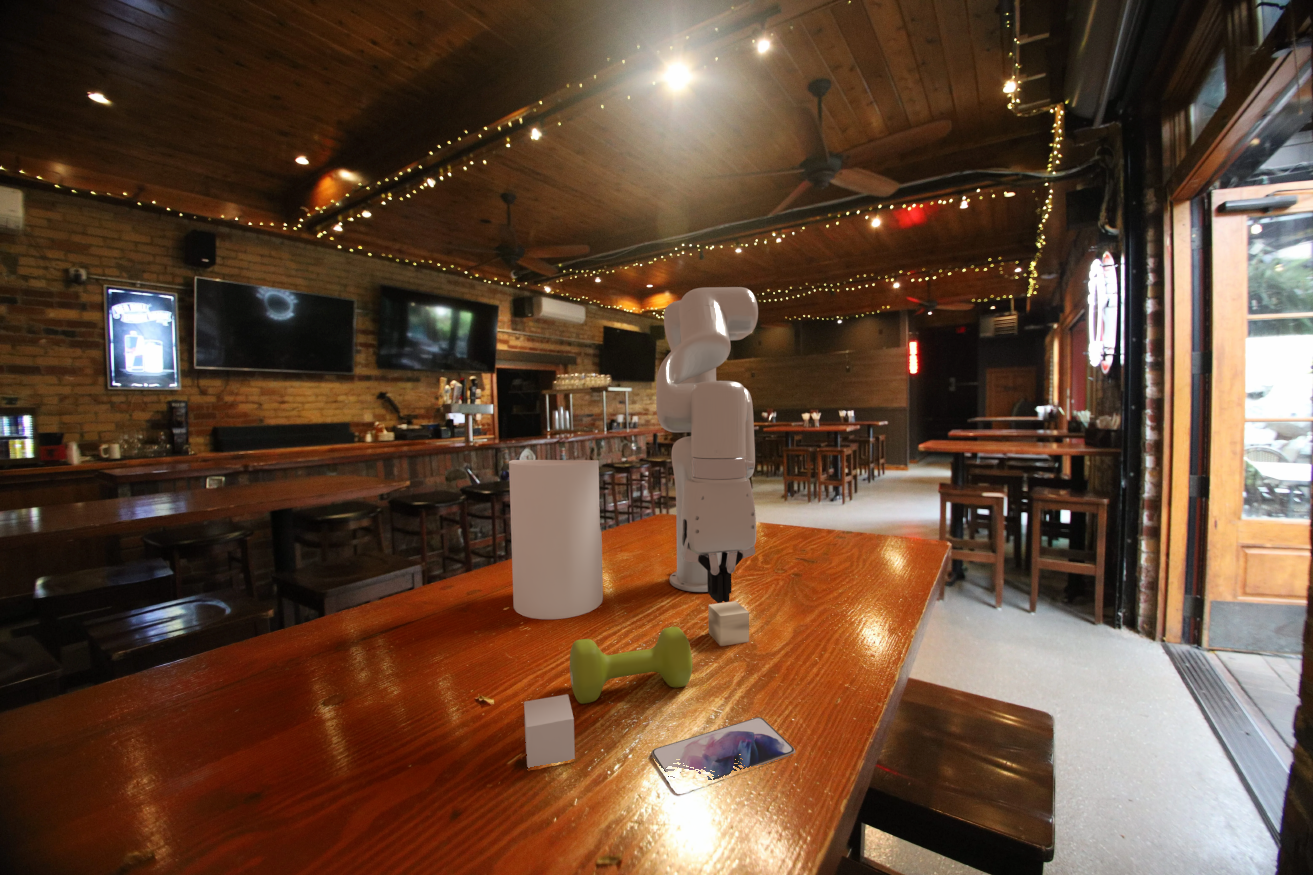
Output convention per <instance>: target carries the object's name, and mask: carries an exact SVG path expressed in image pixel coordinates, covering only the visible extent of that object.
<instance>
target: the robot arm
mask: <svg viewBox="0 0 1313 875" xmlns="http://www.w3.org/2000/svg"><path fill="white" fill-rule="evenodd" d="M758 319H759V306H758V302H757V298H756V296H755V295H754V293H753V292H752V290H750V289H748V288H747V287H742V286H739V287H738V286H729V287H728V286H725V287H724V286H723V287H722V286H719V287H716V286H715V287H706V286H705V287H698V288H693V289H692V290H689V291H688V292H686V293H685V294H684V295H683V296H682V298H681V299H679V300H676V301H673V302H671V303H669V304H667V306H666V307H665V310H664V313H663V324H664V332H665V337H666V341H667V343H668V347H669V349H670V352H669V353H668V354H667V356H665V358H664V359H663V361H662V362H661V364H660V366H659V369H658V371H657V376H656V383H655V384H656V385H655V386H656V390H655V391H656V393H655V394H656V395H655V396H656V399H655V400H656V401H655V403H656V404H655V406H656V416H657V419H658V420H657V421H658V423H659V424H660V426H661V428H663V429H664V430H665V431H668V432H671V433H691V435H690V436H689V435H688V436H683V437H682V438H679V439H677V440H676V441H675V442H674V443H673V445H672V448H671V465H672V471H673V476H674V486H675V504H676V505H675V506H676V508H675V513H676V571H674V572H673V573H672V574H670V576H669V583H670V585H671V586H673V587H674V588H675V589H679V590H682V591H686V592H690V593H691V592H692V593H707V594H708V595H709V596H710V598H711V599H713V601H715V602H716V604H717V603H725V602H730V594H732V574H733V573H734V572H735V570H736V567H737V566H738V565H739V563H740V562H741V561H742V560H743V559H745V558H746V559H747V558H748V557H751V556H753V555H755V554H756V547H755V545H756V542H757V517H756V516H757V515H756V507H755V506H756V505H755V499H754V493H753V489H752V484H751V480H750V478H751V477H752V476H753V474H754V472H755V465H756V450H755V449H756V448H755V446H756V444H755V423H754V420H755V419H754V409H753V408H754V406H753V400H752V396H751V393H750V391H749V390H748V389H747V388H746V387H744V385H743V384H742V383H740V382H738V381H733V380H717V368H718V367H720V366H721V365H722V364H723V363H724V362H725V361H726V360H727V359H728V357H729V355H730V352H731V348H732V346H731V341H740V340H743V339H744V338H746V337H747V336H749V335H751V333H752V332H753V331H754V330H755V328H756V326H757V323H758Z"/></svg>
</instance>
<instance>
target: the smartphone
mask: <svg viewBox="0 0 1313 875" xmlns="http://www.w3.org/2000/svg"><path fill="white" fill-rule="evenodd" d="M794 753H795V754H796V749H795V747H794V746H793V745H792V744H790V742H788V740H786V739H785V738H784V737H783V735H781V734H780V733H779V732H778V731H777V730H776V729H775V728H774V727H773V726H771V724H770V723H768V721H767V720H766V719H764V718H763V717H754V718H751V719H748V720H744V721H741V722H736V723H733V724H730V725H728V726H724V727H721V728H718V729H714V730H711V731H708V732H705V733H702V734H698V735H694V736H691V737H688V738H685V739H682V740H678V741H676V742H672V743H668V744H664V745H661V746H659V747H655V748H653V749H652V750H651V753H650V756H651V755H652V757H653V758H654V759H655V761H656V762H657V763H658V764H659V766H661V768H663V769H664V771H665V772H668V771H674V770H675V769H666V768H667V767H668V766H672V767H677V768H678V767H679V768H684V769H689V770H695V769H699V770H701V769H703V770H705V771H706V772H710V773H711V774H713V775H714V776H712V777H714V778H713V780H715V779H719V778H721V777H722V778H723V776H724V775H725V776H727V775H729V774H730V773H731V771H732V770H734V771H737V770H736V769H734V768H733V766H735V767H737V768H739V769H740V770H741V769H742V768H740V767H739V766H738V765H742V766H743V767H744V768H743V769H745V768H746V767H747V768H749V767H750V766H751V767H753V766H758V765H764V764H767V763H769V762H773V761H775V760H778V759H782V758H784V757H788V756H790V755H791V754H794ZM739 754H741V755H739ZM652 757H651V758H652ZM790 757H791V756H790ZM740 758H742V759H743V760H742V759H740ZM788 758H789V757H788ZM676 759H680V760H676ZM735 759H736V760H735ZM782 760H783V759H782ZM738 761H739V762H738ZM677 762H679V763H681V764H680V765H678V764H673V763H677ZM740 762H741V763H742V764H741V763H740ZM683 763H684V764H683ZM734 763H738V764H734ZM773 763H774V762H773ZM683 765H685V766H683ZM686 765H687V766H689V767H686ZM744 765H745V766H744ZM690 767H694V769H693V768H690ZM704 767H706V768H704ZM710 770H712V771H715V772H712V771H710ZM696 771H698V770H696ZM680 773H681V772H680ZM698 773H699V774H701V772H700V771H699V772H698ZM718 775H719V776H718ZM668 777H669V776H668ZM670 777H673V776H670ZM707 777H708V780H712V779H711V778H710V777H709V776H707ZM673 778H675V777H673Z"/></svg>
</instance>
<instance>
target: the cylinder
mask: <svg viewBox="0 0 1313 875" xmlns="http://www.w3.org/2000/svg"><path fill="white" fill-rule="evenodd" d="M599 463H600V462H599V460H597V459H596V460H595V459H594V460H593V459H592V460H591V459H585V460H583V459H579V460H578V459H512V460H509V461H508V472H509V474H508V475H509V501H510V502H509V503H510V504H509V505H510V533H511V538H510V539H511V540H510V541H511V559H512V560H511V565H512V568H511V570H512V595H513V596H512V599H513V602H512V603H513V609H514V611H515V612H516V613H518V614H520V616H521V615H522V616H523V617H526V618H530V619H538V620H560V619H561V620H562V619H568V618H574V617H578V616H581V615H585V614H588V613H590V612H593V610H594V611H595V609H597V608H599V607H600V605H601V604H603V601H604V594H603V593H604V588H603V586H604V584H603V581H604V580H603V542H602V539H603V537H602V536H603V535H602V532H603V531H602V529H601V525H600V523H601V520H600V519H601V518H600V517H601V515H600V514H601V512H600V508H601V507H600V471H599V468H600V466H599V465H600V464H599Z"/></svg>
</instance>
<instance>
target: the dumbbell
mask: <svg viewBox="0 0 1313 875" xmlns="http://www.w3.org/2000/svg"><path fill="white" fill-rule="evenodd" d="M569 653H570V654H569V674H570V675H569V676H570V683H571V684H570V685H571V688H572V692H573V695H574V696H575V699H576V701H577V702H578V703H579V704H583V705H584V704H589V703H593V702H595V701H597V700H598V698H599V697H600V695H601V694H602V691H603V688H604V685H605V684H606V682H608V681H609V680H611V679H616V678H617V679H618V678H623V677H629V676H635V675H636V676H637V675H641V674H642V675H643V674H648V673H658V674H660V676H661V677H662V679H663V681H664V682H665V684H667V686H670V687H671V688H682V687H683V688H684V687H686V686H687V685H688V683H689V682H690V679H691V676H692V672H693V656H692V655H693V654H692V650H691V646H690V641H689V639H688V637H687V635H686V634H685V633H684V632H683V630H682V629H681V628H680V627H679V626H669V627H665V628H663V629H662V630H661V632H660V633H659V636H658V638H657V642H656V643H655V645H654V646H653V647H651V648H649V649H639V650H632V651H631V650H630V651H625V652H618V653H614V654H613V653H612V654H606V653H604V652H602V650H601V649H600V648H599V647H598V645H597V643H596V642H595V641H594V640H592V639H590V638H583V639H577V640H575V641H574V642H573V643H572V645H571V648H570V652H569Z"/></svg>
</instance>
